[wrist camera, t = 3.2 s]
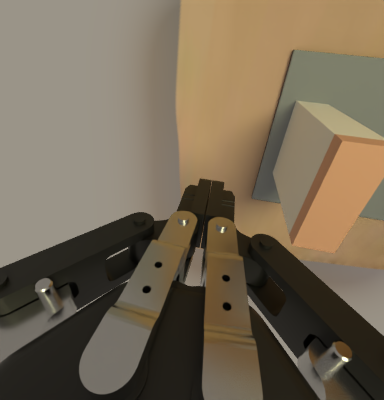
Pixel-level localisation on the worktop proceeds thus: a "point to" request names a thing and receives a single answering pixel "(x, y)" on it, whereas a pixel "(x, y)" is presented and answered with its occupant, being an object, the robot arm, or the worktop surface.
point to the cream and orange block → (326, 174)
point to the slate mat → (332, 95)
